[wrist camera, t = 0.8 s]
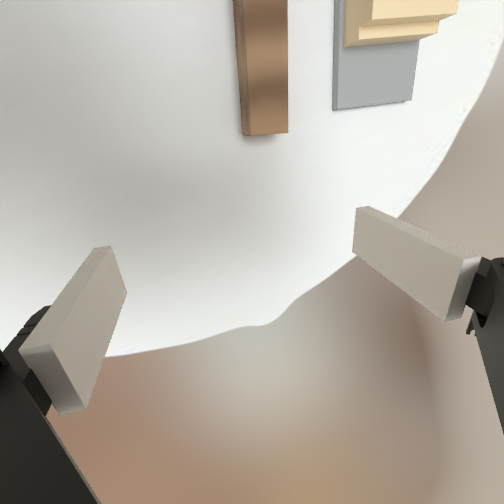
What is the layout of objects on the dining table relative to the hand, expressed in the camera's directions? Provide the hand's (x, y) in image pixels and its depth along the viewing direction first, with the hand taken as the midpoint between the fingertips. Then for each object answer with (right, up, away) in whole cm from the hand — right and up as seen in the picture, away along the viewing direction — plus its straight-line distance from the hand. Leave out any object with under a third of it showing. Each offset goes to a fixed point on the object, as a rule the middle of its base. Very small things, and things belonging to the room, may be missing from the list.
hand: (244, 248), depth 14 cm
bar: (+1, +23, +14) cm, 27 cm away
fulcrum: (+14, +26, +15) cm, 33 cm away
